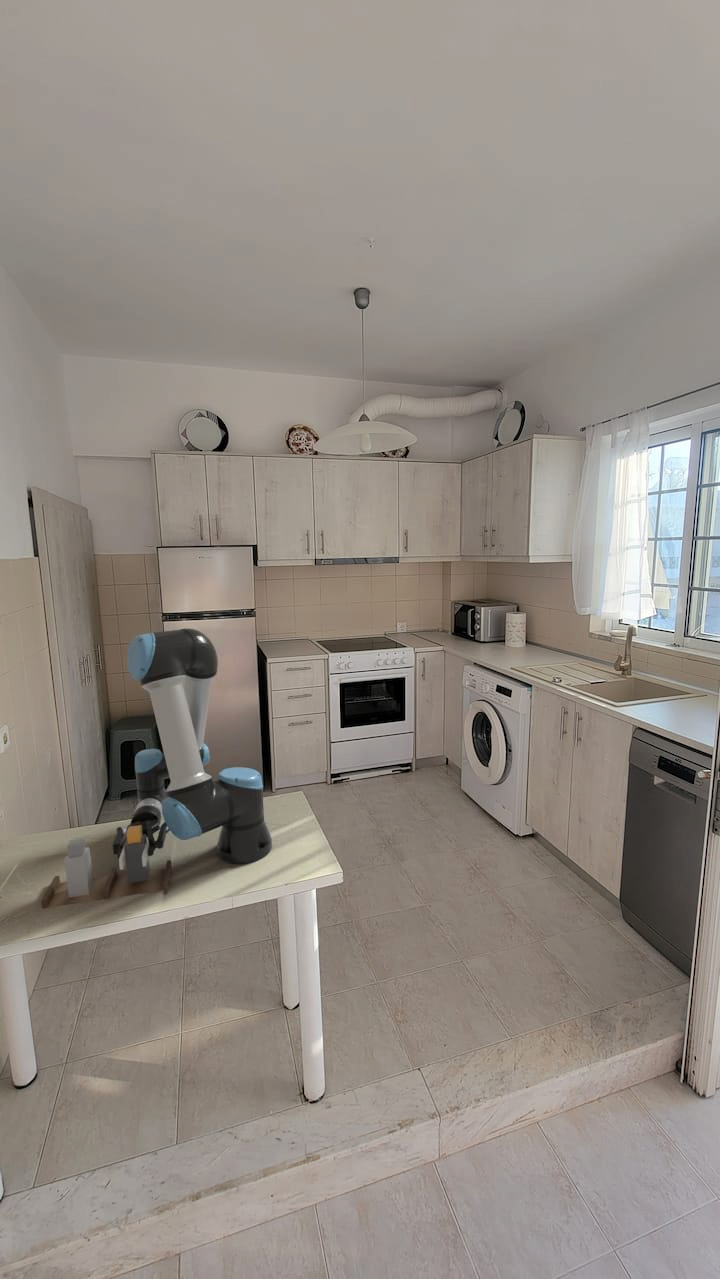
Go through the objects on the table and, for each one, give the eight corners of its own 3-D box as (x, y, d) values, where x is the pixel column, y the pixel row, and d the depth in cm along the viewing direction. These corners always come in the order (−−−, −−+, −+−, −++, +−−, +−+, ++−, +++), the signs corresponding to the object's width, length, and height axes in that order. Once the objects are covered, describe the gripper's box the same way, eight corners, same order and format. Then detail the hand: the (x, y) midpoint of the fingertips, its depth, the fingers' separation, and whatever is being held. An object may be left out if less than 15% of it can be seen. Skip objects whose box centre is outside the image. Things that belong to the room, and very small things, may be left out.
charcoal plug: (149, 870, 141) (145, 823, 139) (146, 880, 137) (142, 832, 135) (130, 873, 140) (126, 825, 138) (127, 883, 136) (122, 834, 134)
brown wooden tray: (172, 870, 145) (171, 860, 145) (167, 893, 136) (166, 882, 135) (56, 887, 139) (54, 876, 139) (42, 911, 130) (41, 900, 129)
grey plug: (93, 883, 139) (88, 836, 136) (89, 894, 134) (83, 845, 132) (74, 886, 138) (68, 838, 135) (68, 897, 133) (62, 848, 131)
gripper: (180, 825, 157) (171, 871, 135) (115, 834, 153) (94, 882, 131) (178, 801, 156) (169, 843, 134) (112, 808, 152) (91, 853, 130)
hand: (132, 862), depth 132 cm, fingers closed on charcoal plug, 4 cm apart
